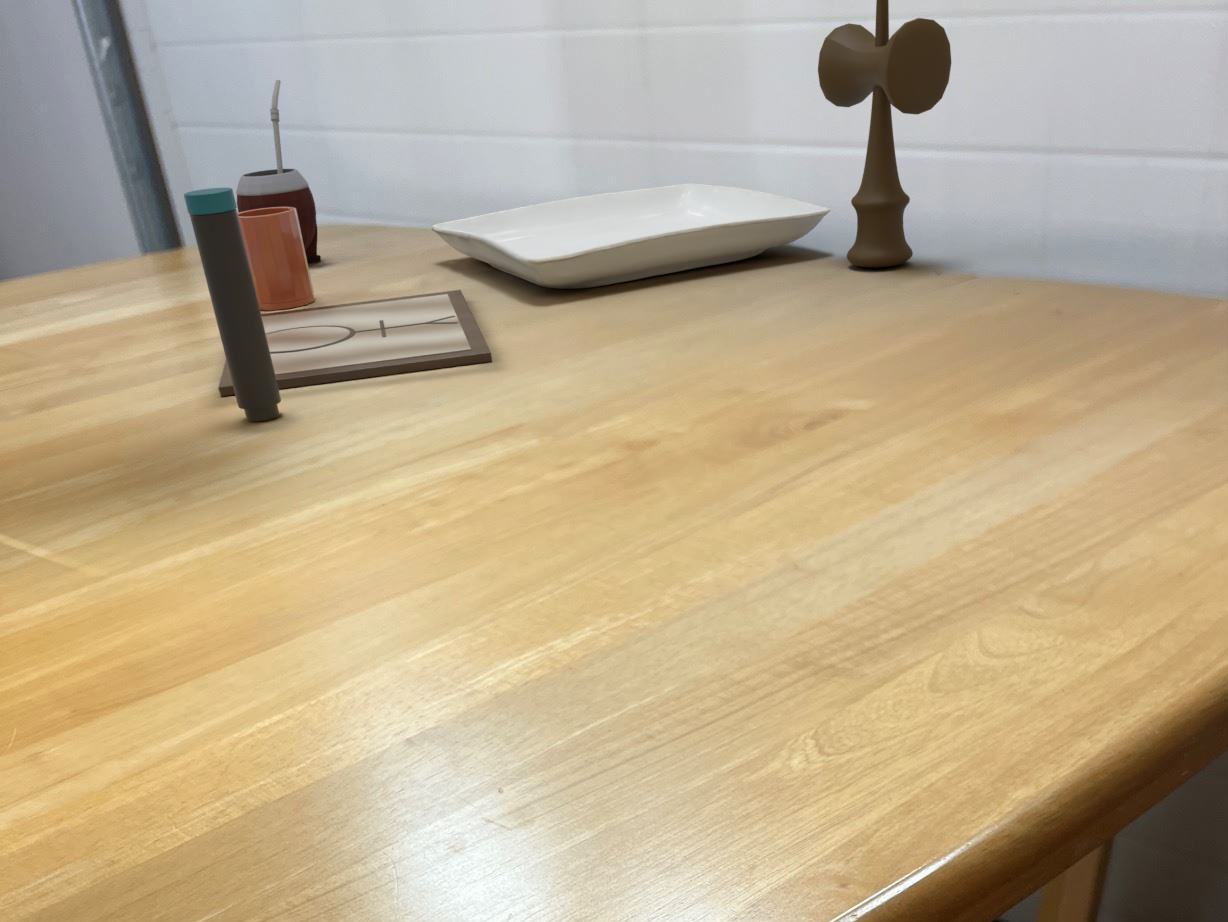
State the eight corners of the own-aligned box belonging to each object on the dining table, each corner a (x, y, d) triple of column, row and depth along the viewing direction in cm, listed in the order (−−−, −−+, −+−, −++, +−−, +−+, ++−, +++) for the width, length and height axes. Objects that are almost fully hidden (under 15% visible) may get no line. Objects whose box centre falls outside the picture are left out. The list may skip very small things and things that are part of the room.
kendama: (887, 278, 103) (891, -37, 92) (813, 264, 110) (809, -31, 99) (947, 266, 106) (959, -44, 94) (872, 252, 113) (874, -38, 101)
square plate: (694, 220, 134) (691, 177, 131) (836, 255, 113) (836, 203, 111) (433, 262, 125) (426, 216, 123) (536, 307, 104) (529, 253, 102)
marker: (257, 425, 82) (201, 195, 74) (232, 420, 83) (174, 194, 76) (294, 414, 83) (241, 187, 76) (268, 409, 85) (214, 186, 78)
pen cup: (277, 312, 111) (256, 218, 107) (241, 307, 114) (219, 216, 110) (327, 299, 114) (308, 207, 110) (290, 295, 117) (270, 205, 113)
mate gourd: (263, 276, 126) (220, 90, 118) (242, 266, 132) (200, 88, 123) (339, 263, 129) (303, 81, 120) (315, 254, 135) (279, 79, 126)
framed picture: (492, 361, 91) (490, 350, 90) (220, 396, 88) (217, 385, 88) (461, 297, 110) (460, 288, 110) (238, 324, 108) (236, 315, 107)
